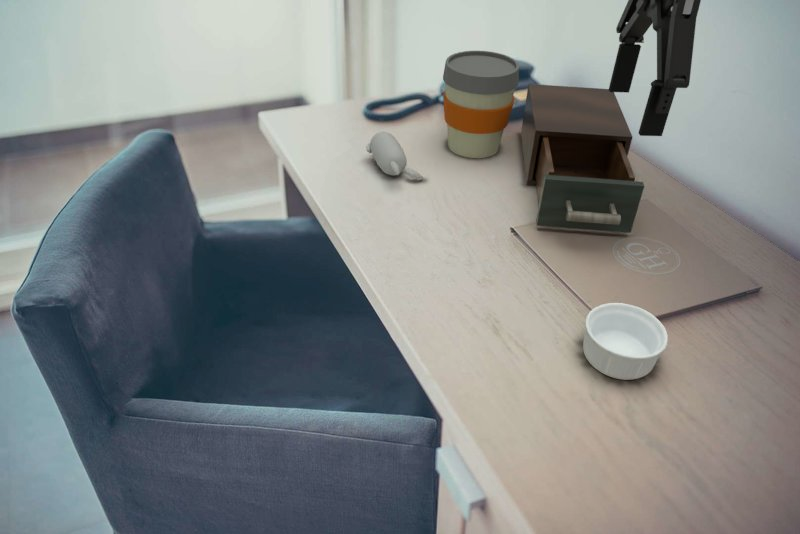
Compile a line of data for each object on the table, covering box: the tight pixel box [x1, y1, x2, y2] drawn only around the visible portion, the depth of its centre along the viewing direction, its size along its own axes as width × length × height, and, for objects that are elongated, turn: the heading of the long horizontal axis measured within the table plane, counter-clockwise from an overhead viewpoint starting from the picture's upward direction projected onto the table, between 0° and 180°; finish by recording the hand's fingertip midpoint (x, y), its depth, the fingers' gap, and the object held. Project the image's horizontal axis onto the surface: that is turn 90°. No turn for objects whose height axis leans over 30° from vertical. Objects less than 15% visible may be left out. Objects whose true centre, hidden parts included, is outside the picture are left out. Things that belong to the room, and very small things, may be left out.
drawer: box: [534, 135, 645, 234], centre depth 95 cm, size 22×13×8 cm, turn 174°
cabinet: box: [520, 83, 633, 186], centre depth 108 cm, size 19×15×10 cm
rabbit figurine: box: [366, 130, 424, 181], centre depth 105 cm, size 6×5×12 cm
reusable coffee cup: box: [442, 50, 520, 159], centre depth 110 cm, size 13×13×15 cm
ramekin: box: [582, 302, 669, 381], centre depth 72 cm, size 9×9×4 cm
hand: (633, 111), depth 85 cm, fingers open, 13 cm apart
